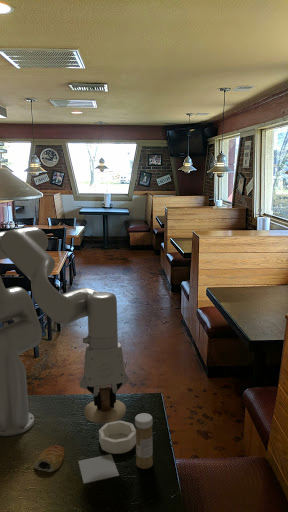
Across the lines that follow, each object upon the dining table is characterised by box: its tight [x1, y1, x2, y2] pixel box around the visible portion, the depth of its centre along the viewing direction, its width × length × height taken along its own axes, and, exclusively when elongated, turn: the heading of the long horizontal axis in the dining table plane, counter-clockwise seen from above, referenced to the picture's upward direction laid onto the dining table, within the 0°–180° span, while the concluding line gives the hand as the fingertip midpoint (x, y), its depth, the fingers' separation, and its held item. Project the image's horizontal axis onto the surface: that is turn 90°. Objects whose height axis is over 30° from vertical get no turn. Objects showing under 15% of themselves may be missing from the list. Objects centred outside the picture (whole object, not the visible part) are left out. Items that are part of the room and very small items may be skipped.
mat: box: [77, 453, 120, 484], centre depth 107 cm, size 9×9×1 cm
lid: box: [84, 385, 127, 424], centre depth 109 cm, size 11×11×7 cm
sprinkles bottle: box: [134, 412, 154, 470], centre depth 108 cm, size 5×5×13 cm
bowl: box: [98, 419, 136, 455], centre depth 118 cm, size 10×10×4 cm
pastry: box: [33, 444, 65, 473], centre depth 111 cm, size 9×7×4 cm
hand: (105, 405), depth 110 cm, fingers closed on lid, 3 cm apart
